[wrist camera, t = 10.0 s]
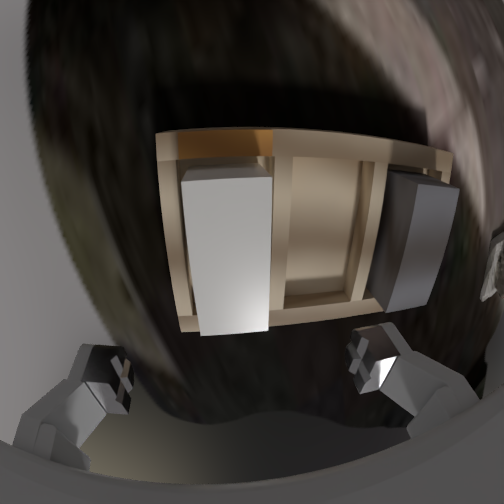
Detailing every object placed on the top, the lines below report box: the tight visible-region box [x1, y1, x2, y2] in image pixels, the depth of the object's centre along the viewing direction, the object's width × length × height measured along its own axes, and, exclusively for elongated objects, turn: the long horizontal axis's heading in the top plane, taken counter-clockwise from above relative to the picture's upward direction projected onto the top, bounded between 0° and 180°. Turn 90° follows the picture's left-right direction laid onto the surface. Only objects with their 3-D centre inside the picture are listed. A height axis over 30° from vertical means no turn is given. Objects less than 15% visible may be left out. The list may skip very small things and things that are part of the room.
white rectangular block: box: [181, 163, 272, 336], centre depth 16 cm, size 9×4×4 cm, turn 0°
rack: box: [156, 127, 459, 332], centre depth 17 cm, size 13×20×6 cm
